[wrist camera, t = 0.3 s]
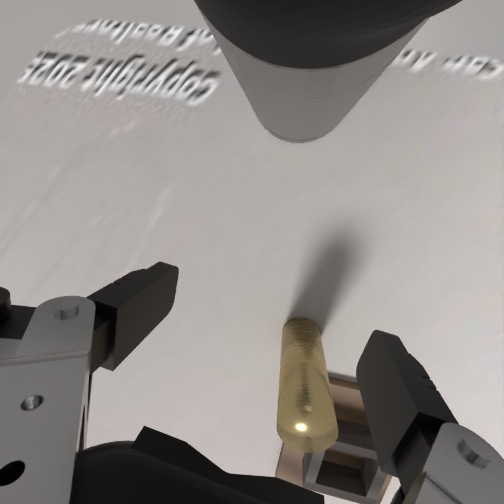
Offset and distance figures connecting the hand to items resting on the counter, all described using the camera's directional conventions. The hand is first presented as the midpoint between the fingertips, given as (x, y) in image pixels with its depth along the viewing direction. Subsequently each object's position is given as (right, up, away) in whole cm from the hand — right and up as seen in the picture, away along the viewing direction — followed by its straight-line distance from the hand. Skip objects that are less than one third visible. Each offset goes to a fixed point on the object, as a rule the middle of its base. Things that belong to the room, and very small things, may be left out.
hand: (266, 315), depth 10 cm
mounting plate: (+11, -22, +23) cm, 34 cm away
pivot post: (+5, -7, +20) cm, 22 cm away
